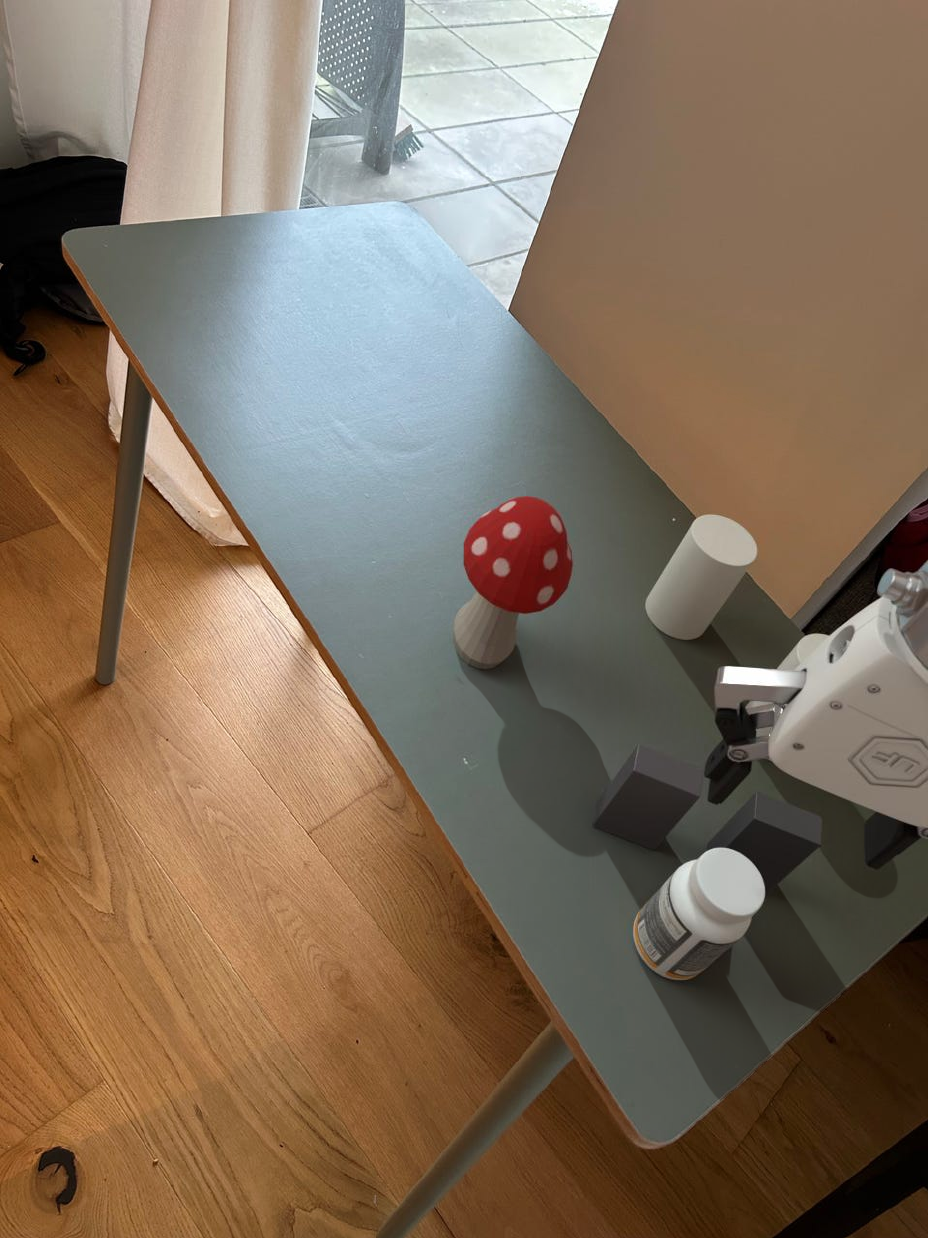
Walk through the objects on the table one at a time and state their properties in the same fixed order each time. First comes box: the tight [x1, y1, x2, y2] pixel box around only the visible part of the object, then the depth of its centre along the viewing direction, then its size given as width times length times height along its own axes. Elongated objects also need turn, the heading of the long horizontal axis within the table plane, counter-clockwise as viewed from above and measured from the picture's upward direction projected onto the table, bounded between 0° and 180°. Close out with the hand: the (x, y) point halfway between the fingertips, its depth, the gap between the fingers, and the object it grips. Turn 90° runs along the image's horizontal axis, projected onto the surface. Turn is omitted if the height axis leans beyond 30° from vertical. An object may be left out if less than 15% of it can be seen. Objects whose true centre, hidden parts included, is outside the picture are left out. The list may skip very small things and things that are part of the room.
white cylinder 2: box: [745, 633, 830, 762], centre depth 82 cm, size 6×6×10 cm
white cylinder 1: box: [644, 514, 758, 641], centre depth 89 cm, size 6×6×10 cm
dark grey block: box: [705, 791, 823, 896], centre depth 73 cm, size 5×2×8 cm, turn 74°
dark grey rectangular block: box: [592, 744, 704, 851], centre depth 73 cm, size 5×2×8 cm, turn 74°
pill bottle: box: [632, 848, 766, 981], centre depth 67 cm, size 6×6×10 cm
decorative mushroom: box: [453, 495, 574, 670], centre depth 78 cm, size 10×9×15 cm
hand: (792, 815), depth 58 cm, fingers open, 9 cm apart
